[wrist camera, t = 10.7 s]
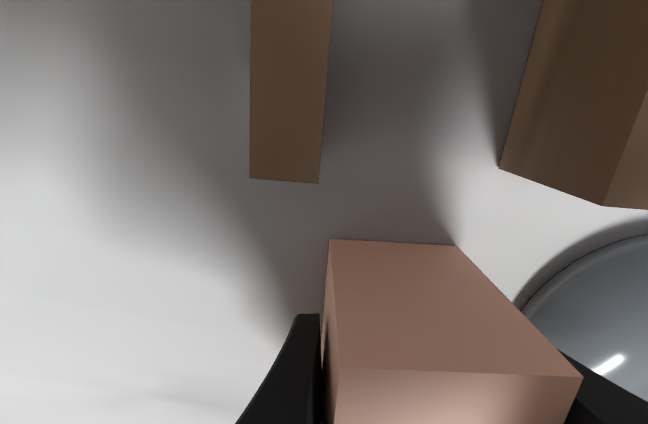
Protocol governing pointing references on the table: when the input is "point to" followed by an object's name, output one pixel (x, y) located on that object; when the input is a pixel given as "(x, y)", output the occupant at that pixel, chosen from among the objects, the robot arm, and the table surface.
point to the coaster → (600, 313)
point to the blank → (431, 343)
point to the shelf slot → (530, 110)
